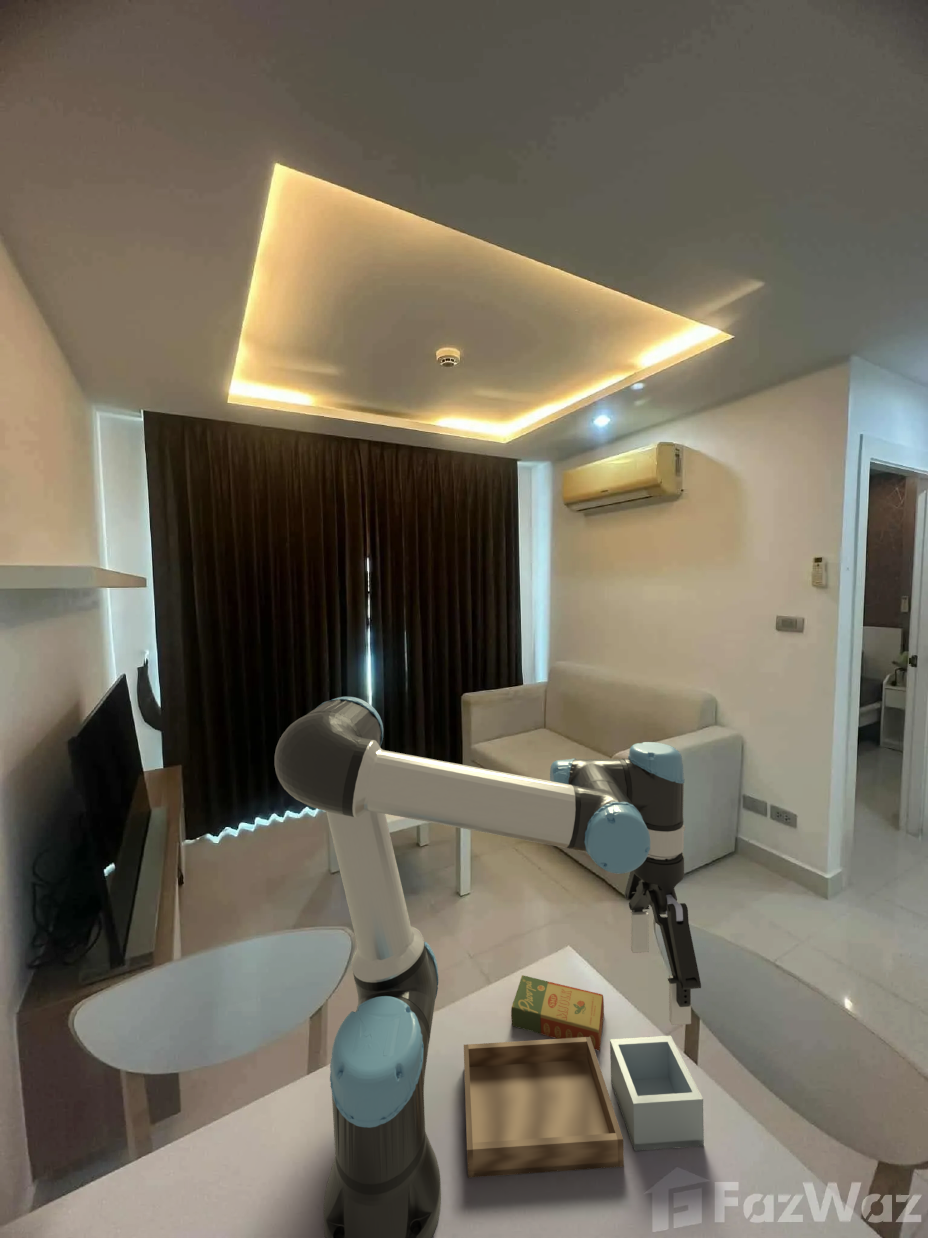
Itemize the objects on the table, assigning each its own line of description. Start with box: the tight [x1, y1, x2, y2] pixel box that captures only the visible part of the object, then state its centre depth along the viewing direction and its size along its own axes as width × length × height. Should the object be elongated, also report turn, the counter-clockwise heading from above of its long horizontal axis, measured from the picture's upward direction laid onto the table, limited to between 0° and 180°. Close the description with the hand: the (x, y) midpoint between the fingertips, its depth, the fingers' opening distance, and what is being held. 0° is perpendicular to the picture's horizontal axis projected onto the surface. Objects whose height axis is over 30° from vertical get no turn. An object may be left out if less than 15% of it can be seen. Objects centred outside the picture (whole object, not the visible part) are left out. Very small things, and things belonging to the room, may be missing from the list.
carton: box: [510, 975, 605, 1052], centre depth 90 cm, size 8×16×4 cm, turn 69°
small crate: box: [609, 1035, 705, 1152], centre depth 73 cm, size 10×10×7 cm
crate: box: [463, 1037, 625, 1179], centre depth 74 cm, size 22×16×4 cm
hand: (658, 983), depth 74 cm, fingers open, 13 cm apart
